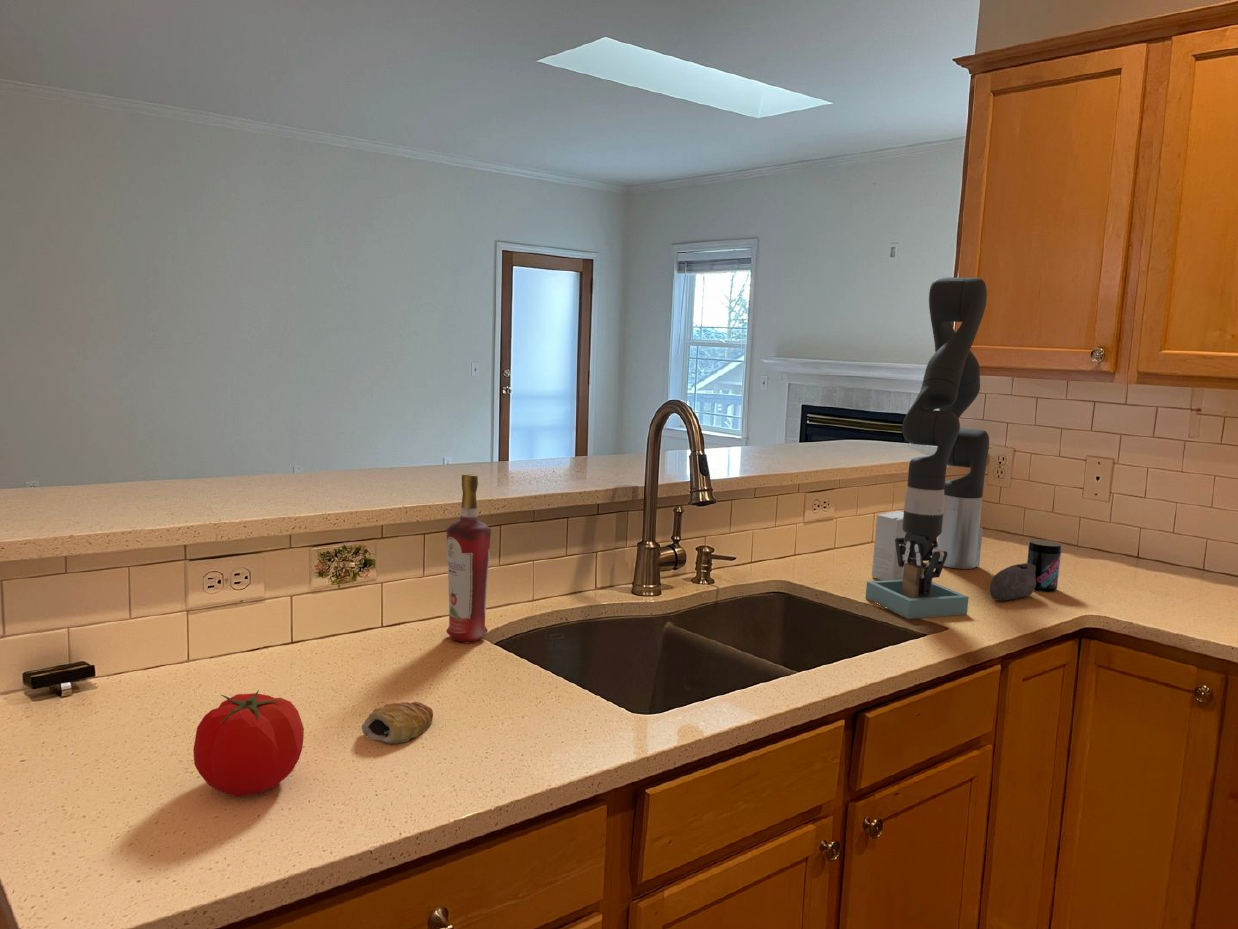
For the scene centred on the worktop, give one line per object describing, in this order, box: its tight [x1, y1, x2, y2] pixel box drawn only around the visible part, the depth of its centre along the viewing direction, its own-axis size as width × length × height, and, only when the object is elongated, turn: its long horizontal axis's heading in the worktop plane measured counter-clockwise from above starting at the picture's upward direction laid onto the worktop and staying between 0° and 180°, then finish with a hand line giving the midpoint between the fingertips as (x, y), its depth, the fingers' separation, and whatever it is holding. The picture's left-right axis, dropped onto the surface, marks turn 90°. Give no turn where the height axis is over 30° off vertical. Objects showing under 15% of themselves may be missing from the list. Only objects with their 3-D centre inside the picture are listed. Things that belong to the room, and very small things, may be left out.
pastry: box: [361, 701, 434, 745], centre depth 118 cm, size 9×7×4 cm
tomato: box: [193, 689, 305, 798], centre depth 102 cm, size 12×12×10 cm
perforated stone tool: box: [988, 562, 1036, 602], centre depth 193 cm, size 15×5×7 cm, turn 124°
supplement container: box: [1026, 538, 1063, 593], centre depth 202 cm, size 7×7×10 cm
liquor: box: [446, 473, 492, 643], centre depth 152 cm, size 7×7×28 cm
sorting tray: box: [865, 579, 969, 620], centre depth 184 cm, size 14×14×4 cm
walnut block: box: [902, 563, 933, 599], centre depth 184 cm, size 4×4×7 cm
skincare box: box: [871, 510, 912, 581], centre depth 205 cm, size 8×6×15 cm
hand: (916, 592), depth 184 cm, fingers closed on walnut block, 3 cm apart
